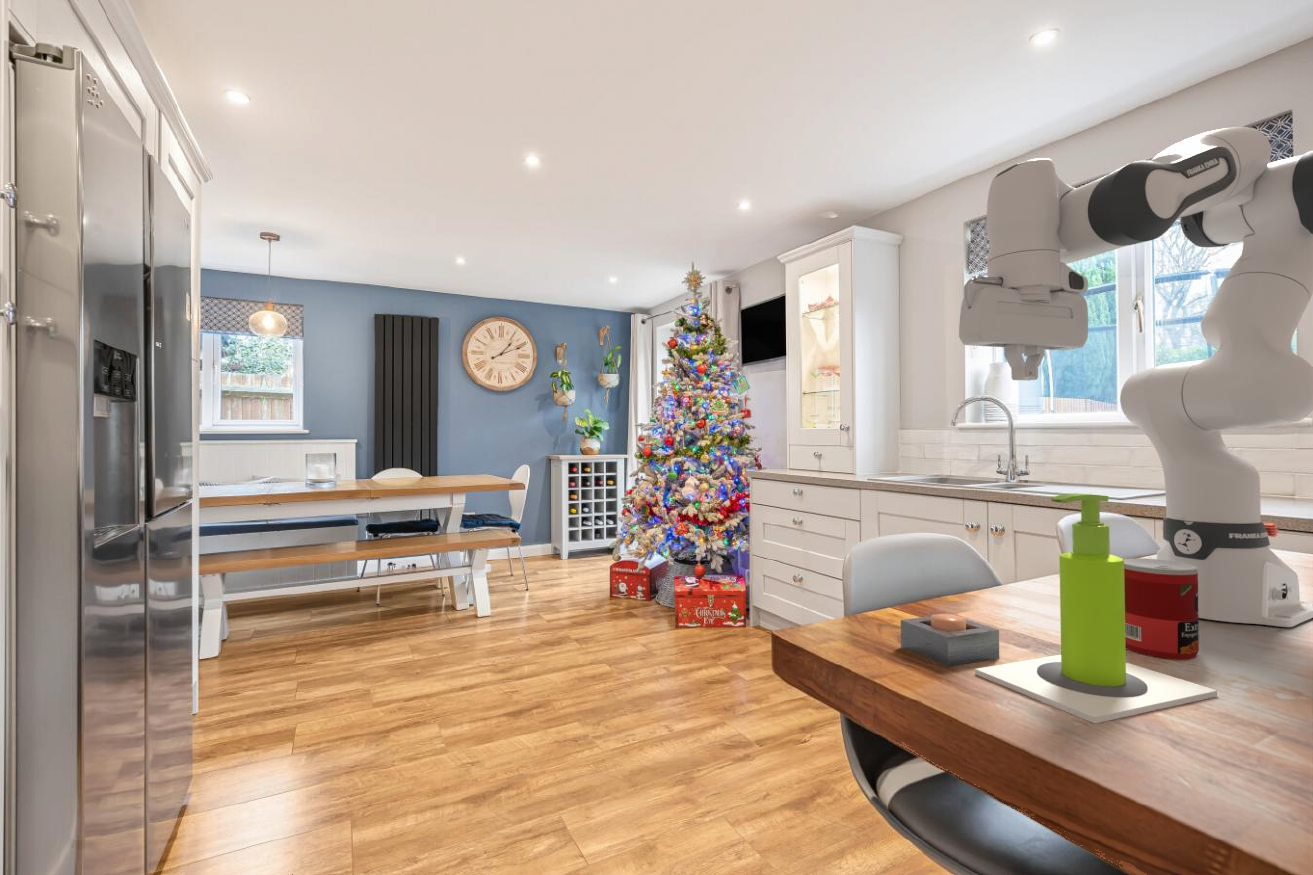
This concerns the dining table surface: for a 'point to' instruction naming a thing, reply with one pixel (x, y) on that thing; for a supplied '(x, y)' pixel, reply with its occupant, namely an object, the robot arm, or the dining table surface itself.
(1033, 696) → the white tray
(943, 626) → the button
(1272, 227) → the robot arm
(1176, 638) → the canned food
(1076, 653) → the soap dispenser
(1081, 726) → the dining table surface
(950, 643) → the button housing
